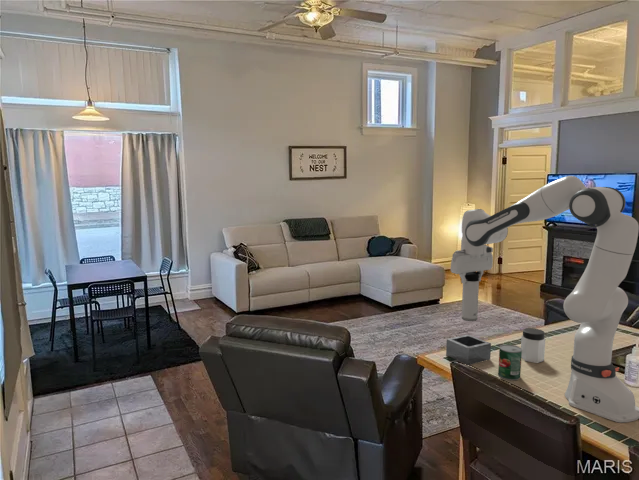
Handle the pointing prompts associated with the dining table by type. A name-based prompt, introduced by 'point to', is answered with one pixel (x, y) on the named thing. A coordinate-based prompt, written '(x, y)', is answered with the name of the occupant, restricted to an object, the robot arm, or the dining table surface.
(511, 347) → the canned tomato
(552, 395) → the dining table surface
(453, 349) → the grey square open box
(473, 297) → the travel mug
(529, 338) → the jar
